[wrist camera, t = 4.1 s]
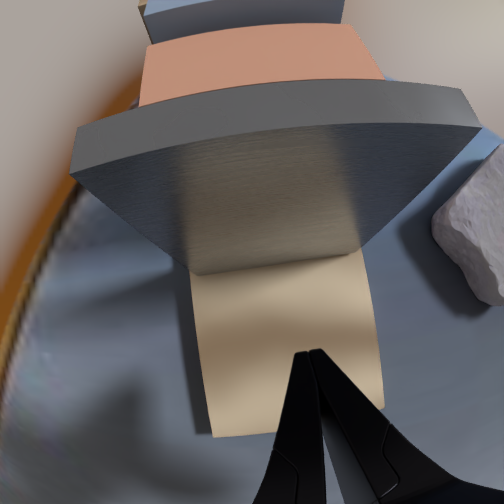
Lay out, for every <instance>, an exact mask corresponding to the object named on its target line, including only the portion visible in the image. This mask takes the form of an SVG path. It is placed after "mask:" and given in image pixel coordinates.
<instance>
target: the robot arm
mask: <svg viewBox="0 0 504 504" xmlns="http://www.w3.org/2000/svg"><path fill="white" fill-rule="evenodd" d="M322 433H323V435H322ZM323 436H324V439H325V443H326V446H327V449H328V452H329V455H330V458H331V461H332V465H333V468H334V471H335V474H336V477H337V480H338V484H339V487H340V490H341V493H342V496H343V499H344V503H345V504H504V491H502V490H497V489H493V488H489V487H484V486H480V485H476V484H473V483H469V482H465V481H463V480H460V479H458V478H456V477H454V476H453V475H451V474H450V473H448V472H447V471H445V470H444V469H443V468H441V467H440V466H439V465H438V464H436V463H435V462H434V461H432V460H431V459H430V458H429V457H427V456H426V455H425V454H423V453H422V452H421V451H420V450H419V449H417V448H416V447H415V446H414V445H413V444H412V443H410V442H409V441H408V440H407V439H406V438H405V437H404V436H403V435H402V434H401V433H400V432H399V431H398V430H397V429H396V428H395V427H394V425H393V424H390V421H389V420H388V419H387V418H386V417H385V416H384V415H383V414H382V413H381V412H380V411H379V410H378V409H377V408H376V406H375V405H374V404H373V403H372V402H371V401H370V400H369V399H368V398H367V397H366V396H365V395H364V394H363V392H362V391H361V390H360V389H359V388H358V387H357V386H356V385H355V384H354V383H353V382H352V381H351V379H350V378H349V377H348V376H347V375H346V374H345V373H344V372H343V371H342V370H341V369H340V368H339V366H338V365H337V364H336V363H335V362H334V361H333V360H332V359H331V358H330V357H329V356H328V355H327V353H326V352H325V351H324V350H323V349H321V348H317V349H311V350H309V351H300V352H296V353H295V354H294V357H293V362H292V367H291V372H290V376H289V381H288V386H287V390H286V395H285V399H284V403H283V408H282V412H281V416H280V421H279V425H278V429H277V433H276V437H275V441H274V445H273V450H272V452H271V456H270V460H269V463H268V466H267V470H266V473H265V476H264V478H263V481H262V483H261V486H260V488H259V490H258V493H257V495H256V497H255V499H254V501H253V503H252V504H326V481H325V464H324V448H323Z"/></svg>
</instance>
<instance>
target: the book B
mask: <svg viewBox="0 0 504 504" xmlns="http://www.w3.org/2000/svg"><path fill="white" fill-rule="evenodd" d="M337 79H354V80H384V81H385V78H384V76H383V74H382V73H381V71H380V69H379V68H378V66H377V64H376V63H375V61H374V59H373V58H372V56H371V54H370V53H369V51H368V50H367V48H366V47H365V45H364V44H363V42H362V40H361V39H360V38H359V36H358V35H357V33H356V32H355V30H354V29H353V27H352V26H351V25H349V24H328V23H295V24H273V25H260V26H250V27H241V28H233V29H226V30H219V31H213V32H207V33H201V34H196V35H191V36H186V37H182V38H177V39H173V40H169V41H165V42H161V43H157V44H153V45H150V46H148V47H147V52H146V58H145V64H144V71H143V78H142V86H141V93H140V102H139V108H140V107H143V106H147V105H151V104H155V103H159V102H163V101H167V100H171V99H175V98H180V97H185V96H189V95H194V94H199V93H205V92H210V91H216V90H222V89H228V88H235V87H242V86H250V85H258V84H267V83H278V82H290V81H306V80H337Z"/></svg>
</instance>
